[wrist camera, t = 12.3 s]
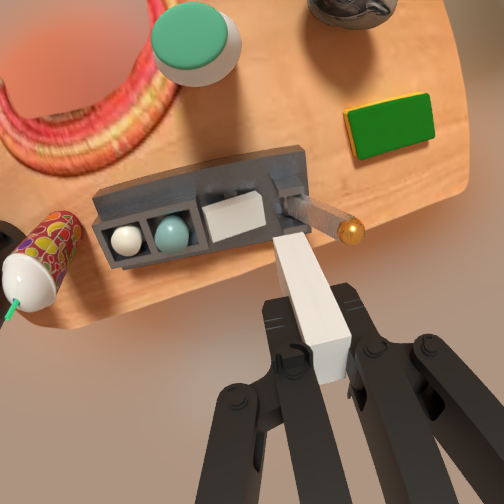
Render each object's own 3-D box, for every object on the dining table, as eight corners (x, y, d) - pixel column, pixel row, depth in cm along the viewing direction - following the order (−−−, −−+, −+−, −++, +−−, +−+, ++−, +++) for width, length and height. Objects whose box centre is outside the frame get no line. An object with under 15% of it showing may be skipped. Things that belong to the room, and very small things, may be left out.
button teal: (163, 246, 38) (160, 257, 36) (153, 219, 36) (150, 229, 34) (192, 239, 38) (191, 250, 36) (184, 212, 36) (182, 222, 34)
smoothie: (79, 257, 44) (33, 354, 27) (39, 233, 40) (-21, 320, 24) (97, 219, 40) (43, 316, 24) (53, 192, 37) (-20, 275, 20)
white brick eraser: (209, 235, 38) (213, 242, 37) (201, 207, 36) (205, 213, 34) (259, 218, 40) (266, 224, 38) (255, 190, 37) (261, 195, 36)
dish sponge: (426, 134, 39) (435, 138, 37) (352, 156, 40) (359, 161, 38) (420, 90, 35) (429, 93, 33) (340, 109, 36) (347, 112, 34)
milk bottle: (223, 90, 33) (231, 108, 17) (162, 76, 31) (109, 82, 15) (243, 35, 29) (273, -3, 13) (182, 20, 27) (148, -29, 11)
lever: (276, 215, 39) (351, 256, 30) (273, 191, 37) (352, 228, 28) (294, 206, 40) (369, 244, 31) (292, 183, 38) (371, 216, 29)
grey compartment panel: (127, 258, 45) (117, 287, 39) (99, 189, 38) (81, 212, 32) (306, 222, 45) (319, 248, 39) (298, 144, 38) (314, 159, 32)
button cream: (122, 248, 39) (118, 258, 37) (111, 223, 37) (106, 233, 35) (148, 242, 39) (144, 252, 37) (138, 216, 37) (134, 226, 35)
